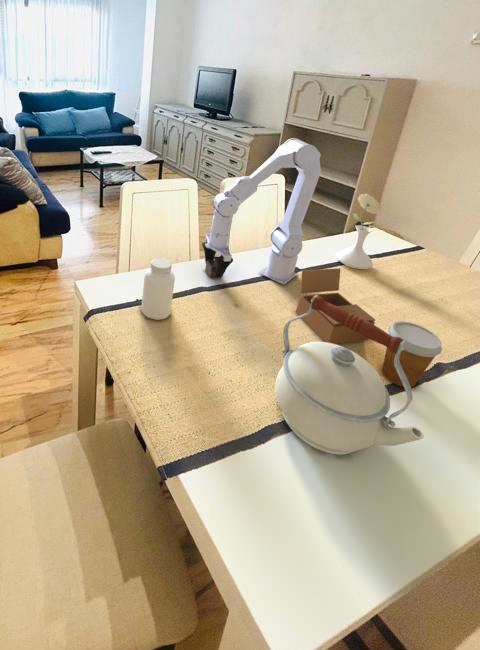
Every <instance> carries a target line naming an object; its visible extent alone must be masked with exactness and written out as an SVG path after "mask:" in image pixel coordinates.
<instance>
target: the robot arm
mask: <svg viewBox="0 0 480 650" xmlns="http://www.w3.org/2000/svg"><path fill="white" fill-rule="evenodd" d="M321 157H322V153H321V152H320V151H319V150H318V148H317V147H316V146H315V145H314V144H310V143H307V142H305V141H303V140H301V139H299V138H297V137H292V138H291V137H290V138H289V139H287V140H286V141H285V142H284V143H283V144H281V145H279V146H278V147H277V148H276V150H275V152H274V153H273V154H272V155H271V156H270V157H269V158H268V159H267V160H265V161H264V163H262V164H261V165H260V166H259V167H258V168H257V169H256V170H255V171H254V172H252V174H251V175H244V176H242V177H238V178H237V179H236V180H235V181H236V182H234V183H233V184H232V185H231V186H230V187H229V188H227V189H225V190H223V192H220V193H218V194H216V196H215V197H214V199H212V205H213V208H214V211H213V216H212V221H211V226H210V233H206V234H205V238H204V240H205V241H203V242H202V243H201V247H202V248H203V253H204V262H205V263H206V262H207V260H215V265H216V269H215V275H216V277H215V278H223V276H224V275H225V272H226V270H227V269H228V267H230V265H231V264H232V263H233V262H234V258H233V257H232V253H231V252H230V247H229V239H230V235H231V230H232V223H233V218H234V215H236V214H237V212H238V210H239V207H240V206H241V204H243V203H244V202H245V201H246V200H247V199H249V198H250V197H251V196H252V195H254V194H255V193H256V192H257V191H258V187H259V185H260V184H261V183H263V182H264V181H266V180H267V179H268V178H269V177H271V176H272V175H274V174H276V172H278V171H280V170H281V169H294V168H295V169H296V170H297V172H298V175H297V178H296V180H295V184H294V187H293V189H292V192H291V195H290V198H289V201H288V204H287V206H286V210H285V213H284V214H283V219H282V220H280V221H278V222H277V223H276V226H275V227H274V229H273V230H272V231H271V232H270V235H269V236H270V237H269V239H270V241H271V242H272V243H271V249H270V253H269V258H268V261H267V266H266V269H264V270H263V271H261V272H260V275H261V276H264V277H266V278H268V279H270V280H273V281H275V282H276V283H279V284H281V285H286V284H287V283H289V281H291V280H292V279H293V278H295V277H296V276H297V273H296V272H295V270H296V266H297V263H298V258H299V256H298V255H299V254H300V253H301V252H302V250H303V238H304V234H303V230H302V224H303V222H304V219H305V217H306V214H307V211H308V209H309V206H310V203H311V201H312V197H313V196H314V193H315V190H316V187H317V184H318V181H319V179H320V176H321V173H322V168H321V161H320V159H321ZM216 253H218V255H219V256H218V255H217V256H216Z"/></svg>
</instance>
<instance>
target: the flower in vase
mask: <svg viewBox="0 0 480 650" xmlns="http://www.w3.org/2000/svg"><path fill="white" fill-rule="evenodd" d="M357 201H358V203H359V205H360V207H361V208H362V209H363V210H362V211H361V213H360V215H358V214H357V213H353V214H352V215H351V217H353V218H354V219H355V220H356V221H359V222H360V224H359V225H355V229H356V232H357V233H356V238H355V242H354V245H353V246H351V247H348V248H343V249H341V250H339V251H337V252H336V253H335V257H336V260H337V261H338V262H339V263H341V264H343V265H345V266H346V267H349V268H353V269H358V270H368V269H370V268H372V267H373V265H374V263H373V260H372V259H371V257H370V256H369V255H368V254H367V253H366V252H365V250H364V249H363V245H364V242H365V240H366V238H367V237H368V235H369V234H370V233H372V232H373V229H372V228H371V227H369V226H367V225H371V224H373V223H375V221H366V222H363V220H362V216H363V213H364V212H365V210H366V212H367V213H370V214H374V215H378V214H379V213H380V211H381V206H380V205H381V203H380V202H378V199H375V196H373V195H372V196H371V195H370V194H368V193H364V194H363V193H361V194H359V196H358V197H357Z"/></svg>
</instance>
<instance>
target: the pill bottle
mask: <svg viewBox="0 0 480 650" xmlns="http://www.w3.org/2000/svg"><path fill="white" fill-rule="evenodd" d="M172 266H173V265H172V262H171V261H170V260H168V259H166V258H162V257H161V258H160V257H158V258H157V257H156V258H154V259H152V260H151V262H150V267H149V268H148V269H146V271H145V272H144V275H143V285H142V286H143V287H142V297H141V298H142V299H141V313H142V314H143V315H144V316H145V317H147V318H148V319H151V320H157V321H160V320H165V319H167V318H168V317H169V316H170V314H171V312H172V306H173V305H172V304H173V295H174V289H175V281H176V278H175V274H174V272H173V271H172V268H173V267H172Z"/></svg>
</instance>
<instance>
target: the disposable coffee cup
mask: <svg viewBox="0 0 480 650" xmlns="http://www.w3.org/2000/svg"><path fill="white" fill-rule="evenodd" d="M387 333H388V334H389V335H391V336H393V337H400V338H401V339H402V340H405V344H404V348H405V349H404V350H403V351H401V354H400V357H399V361H400V364H401V367H402V369H403V371H404V373H405V375H406V377H407V380H408V382H409V384H410V387H411V388H414V387H415V385H416V384H417V382H418V381H419V380H420V378H421V377H422V376H423V374H424V373H425V371H426V370H427V369H428V367H430V364H432V362H433V360H434V359H435V358H436V357H437V356H438V355H440V354H441V353H442V351H443V348H442V341H441V339H440V338H439V336H438V335H436V334H435V333H434V332H433V331H431V330H429V329H428V328H426V327H424V326H422V325H419V324H417V323H414V322H411V321H402V320H399V321H395V322H394V323H392V325H390V326H389V327H388V329H387ZM395 355H396V353H392V352H390V351H389V349H388V348H387V347H385V354H384V358H383V363H382V366H381V367H382V368H381V373H382V375H383V376H384V378H386V379H387V380H388V381H389V382H391V383H393V384H394V385H396V386H399V387H402V388H404V386H403V383H402V381H401V379H400V377H399V375H398V373H397V370H396V368H395V365H394V358H395Z"/></svg>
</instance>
